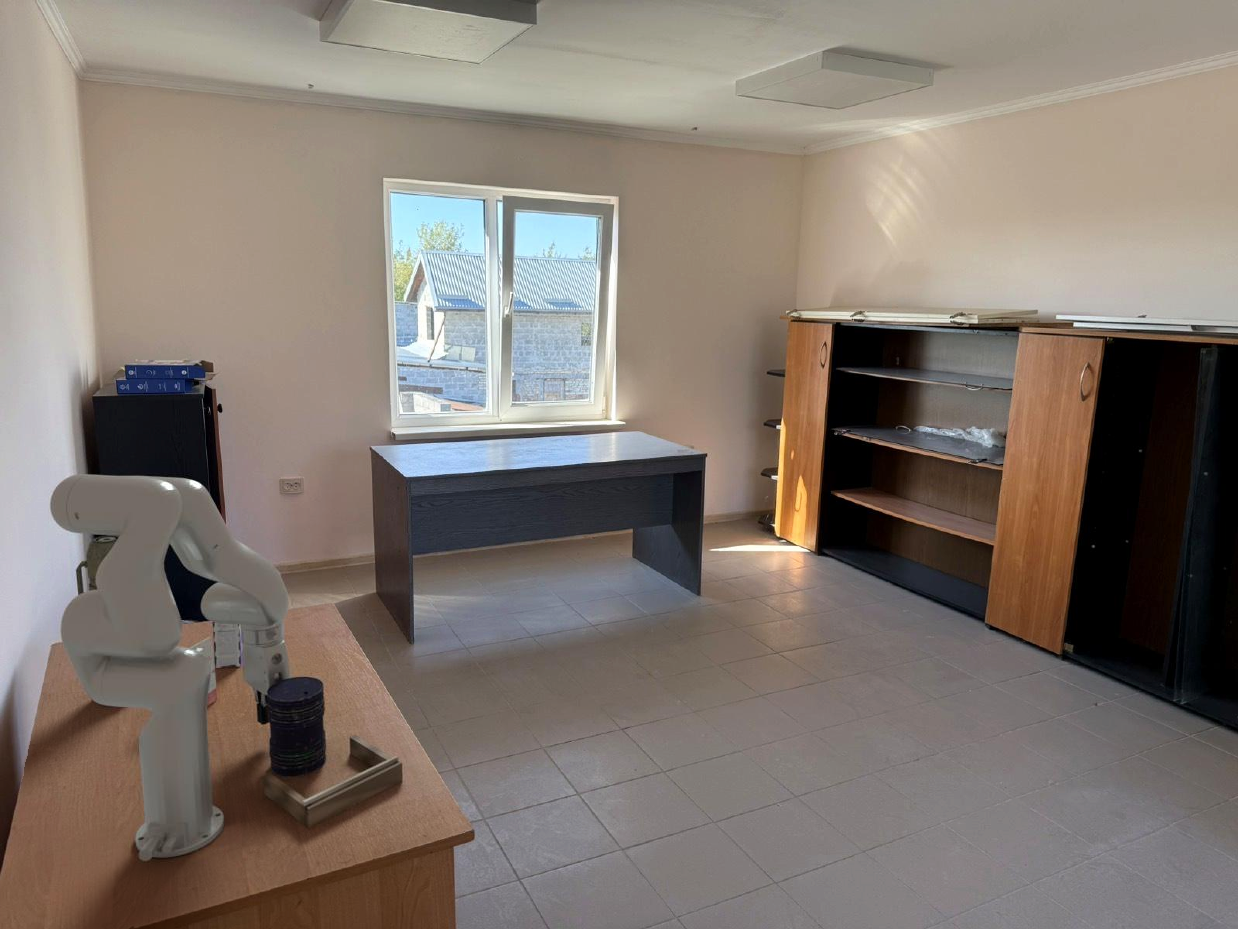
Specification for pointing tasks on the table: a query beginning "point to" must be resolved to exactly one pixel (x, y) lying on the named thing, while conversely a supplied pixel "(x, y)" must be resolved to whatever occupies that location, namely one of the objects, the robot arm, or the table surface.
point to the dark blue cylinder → (296, 726)
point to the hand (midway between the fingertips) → (267, 720)
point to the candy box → (227, 645)
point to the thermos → (94, 561)
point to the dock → (338, 786)
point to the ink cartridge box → (209, 654)
